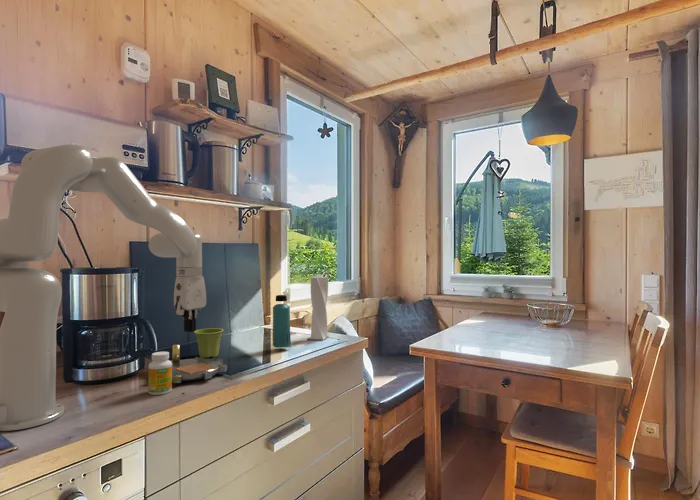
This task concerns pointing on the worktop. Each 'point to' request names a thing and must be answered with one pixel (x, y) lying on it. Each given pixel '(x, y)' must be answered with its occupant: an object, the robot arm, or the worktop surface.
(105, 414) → the worktop surface
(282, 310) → the beverage bottle
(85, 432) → the worktop surface
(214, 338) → the plant pot
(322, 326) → the skyscraper
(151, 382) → the supplement bottle
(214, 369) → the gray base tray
